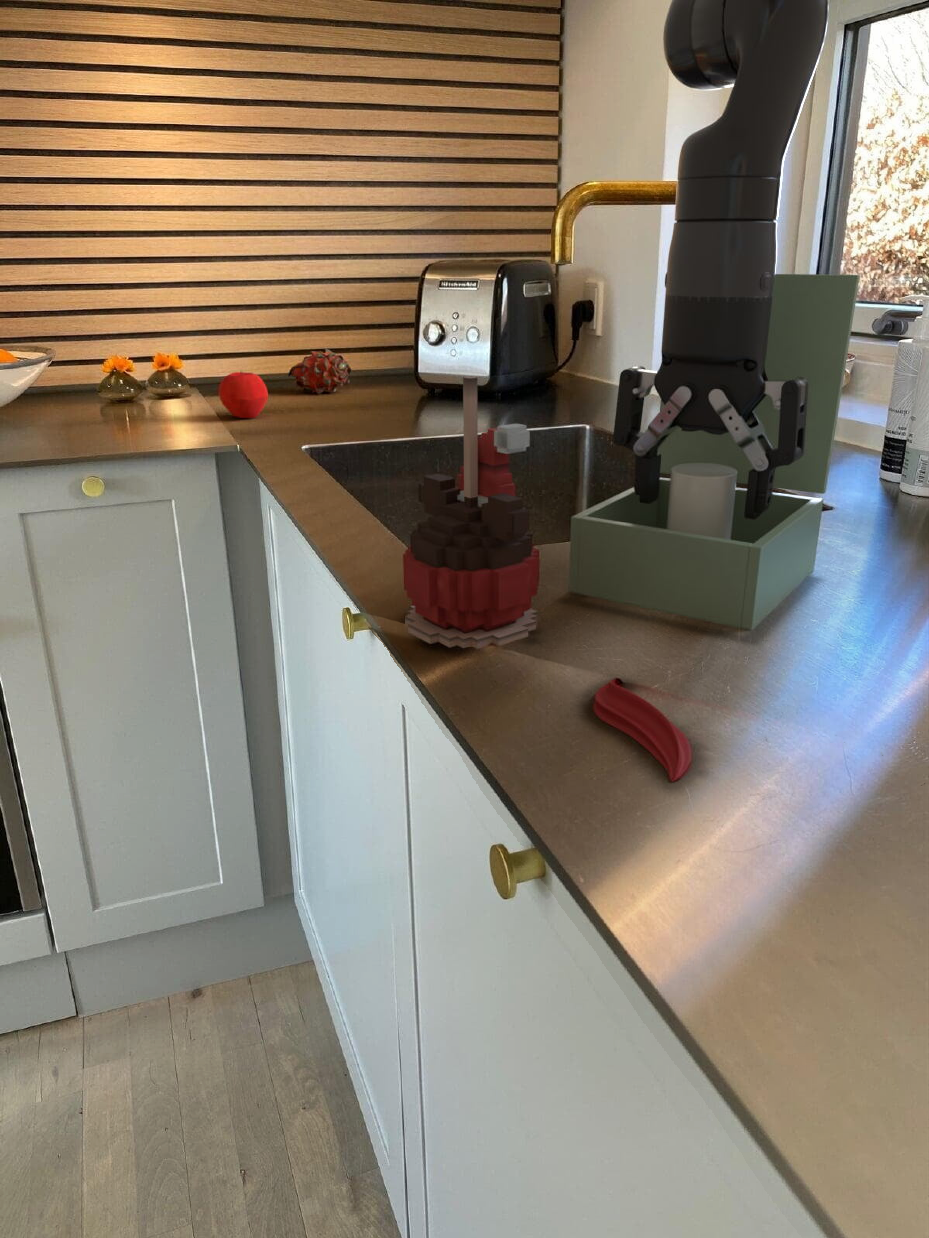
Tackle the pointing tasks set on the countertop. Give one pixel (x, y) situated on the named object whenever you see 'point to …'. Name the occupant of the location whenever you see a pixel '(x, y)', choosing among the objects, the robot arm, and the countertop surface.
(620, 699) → the cayenne pepper
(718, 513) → the white cylinder
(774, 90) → the robot arm
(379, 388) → the countertop surface
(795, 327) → the bin lid
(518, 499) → the cake
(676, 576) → the bin
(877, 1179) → the countertop surface
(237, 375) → the apple
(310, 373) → the dragon fruit
